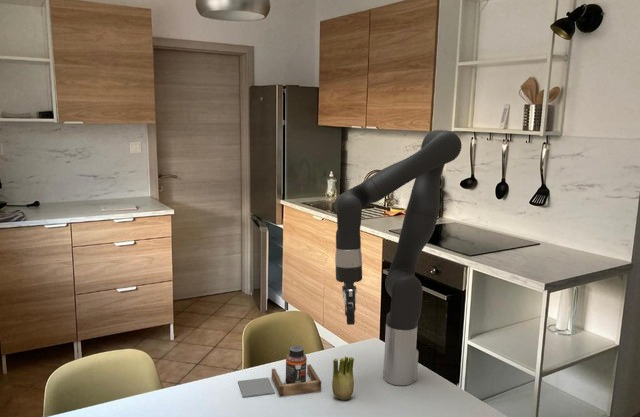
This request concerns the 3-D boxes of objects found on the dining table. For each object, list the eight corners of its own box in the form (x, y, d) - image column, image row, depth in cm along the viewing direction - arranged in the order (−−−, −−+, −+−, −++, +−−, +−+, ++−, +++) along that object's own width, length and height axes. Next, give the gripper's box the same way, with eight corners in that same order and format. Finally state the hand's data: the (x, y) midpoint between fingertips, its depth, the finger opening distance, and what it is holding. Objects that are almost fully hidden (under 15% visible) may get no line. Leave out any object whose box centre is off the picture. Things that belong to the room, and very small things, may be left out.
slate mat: (268, 378, 158) (268, 377, 158) (274, 393, 150) (274, 392, 150) (238, 382, 156) (238, 381, 156) (242, 397, 147) (242, 396, 147)
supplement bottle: (303, 391, 152) (304, 353, 150) (283, 388, 153) (283, 351, 151) (307, 381, 158) (308, 345, 156) (288, 378, 159) (289, 342, 157)
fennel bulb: (330, 400, 148) (332, 359, 145) (334, 391, 152) (335, 352, 150) (351, 403, 146) (353, 362, 144) (354, 394, 151) (356, 354, 149)
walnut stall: (310, 373, 162) (310, 364, 162) (320, 391, 152) (321, 381, 152) (271, 378, 159) (271, 368, 158) (279, 396, 148) (280, 386, 148)
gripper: (364, 268, 144) (365, 327, 145) (360, 259, 158) (361, 312, 159) (336, 269, 144) (337, 327, 145) (334, 259, 158) (335, 313, 159)
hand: (349, 319), depth 152 cm, fingers open, 8 cm apart
